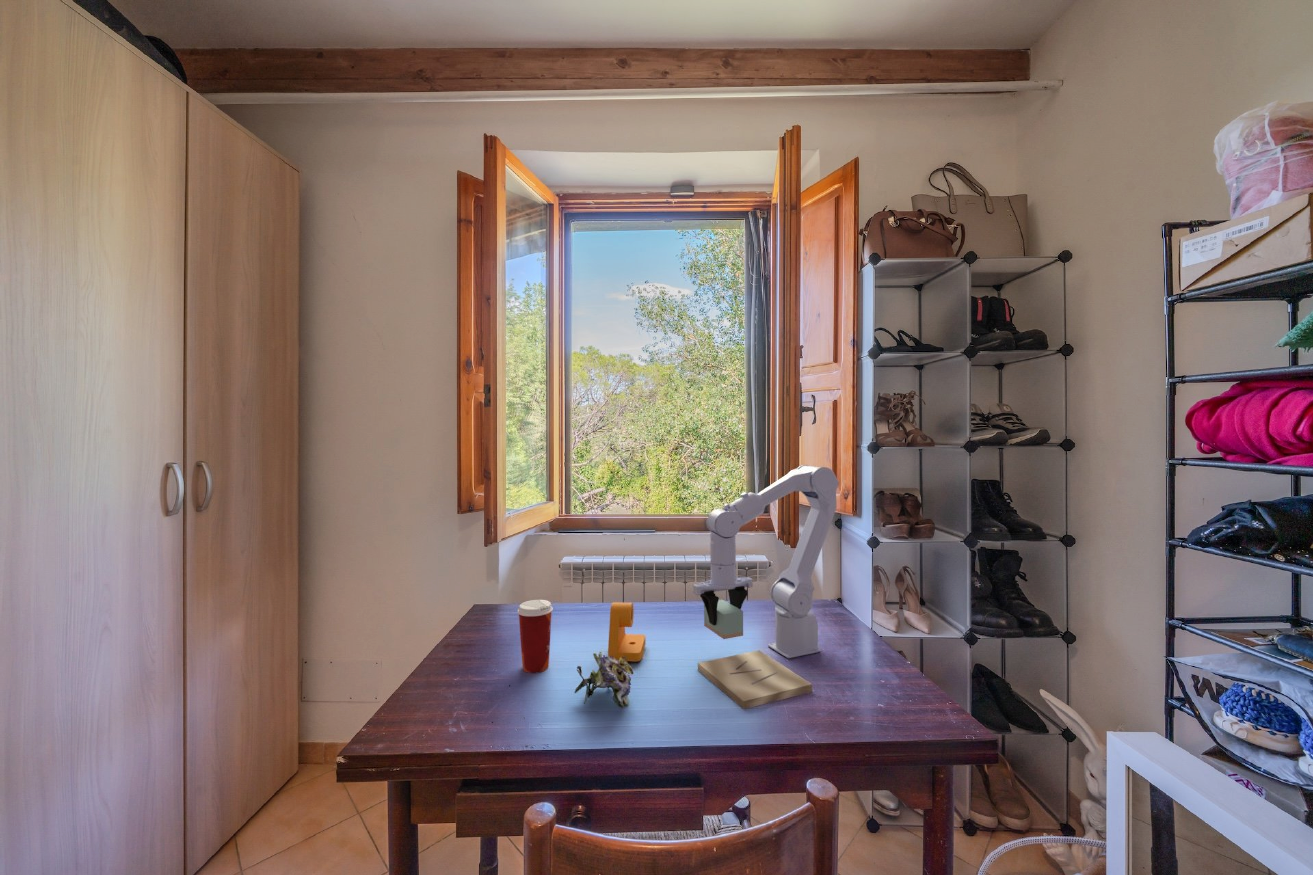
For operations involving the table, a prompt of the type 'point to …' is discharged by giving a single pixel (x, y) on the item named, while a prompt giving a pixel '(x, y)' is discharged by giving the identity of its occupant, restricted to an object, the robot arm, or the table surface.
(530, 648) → the paper cup
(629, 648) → the bracket
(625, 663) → the passion flower
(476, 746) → the table surface
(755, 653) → the birch board
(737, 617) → the block
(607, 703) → the table surface
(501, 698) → the table surface
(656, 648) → the table surface
